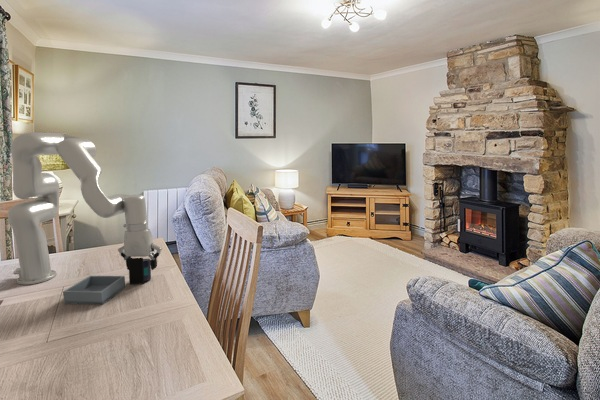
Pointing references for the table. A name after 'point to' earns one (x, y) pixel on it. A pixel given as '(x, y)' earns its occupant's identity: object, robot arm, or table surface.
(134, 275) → the speaker
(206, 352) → the table surface
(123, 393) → the table surface
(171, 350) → the table surface
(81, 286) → the open box
